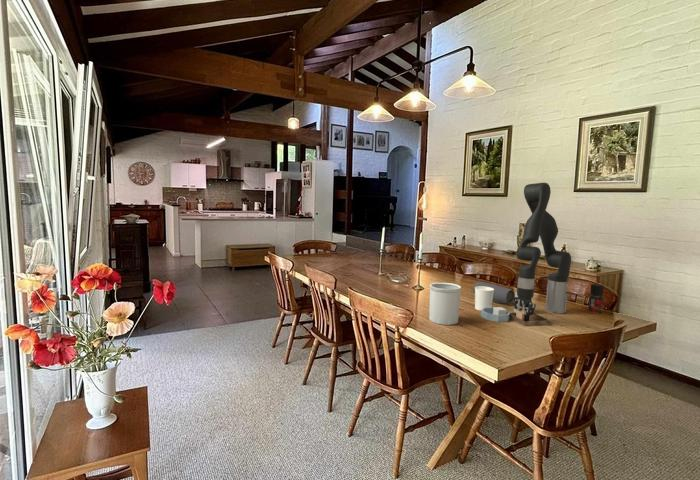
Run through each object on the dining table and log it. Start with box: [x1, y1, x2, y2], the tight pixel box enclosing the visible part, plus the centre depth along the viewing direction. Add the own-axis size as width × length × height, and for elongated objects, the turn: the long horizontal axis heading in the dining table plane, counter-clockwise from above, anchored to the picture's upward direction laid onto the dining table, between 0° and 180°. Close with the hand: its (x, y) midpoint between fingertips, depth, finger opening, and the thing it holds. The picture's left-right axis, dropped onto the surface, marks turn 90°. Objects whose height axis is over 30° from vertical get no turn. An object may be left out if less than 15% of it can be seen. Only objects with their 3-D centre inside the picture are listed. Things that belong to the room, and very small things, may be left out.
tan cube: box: [516, 310, 530, 321], centre depth 185 cm, size 4×4×4 cm
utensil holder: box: [428, 282, 462, 326], centre depth 183 cm, size 15×15×18 cm
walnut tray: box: [509, 311, 552, 327], centre depth 186 cm, size 14×14×3 cm
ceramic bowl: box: [480, 306, 511, 323], centre depth 190 cm, size 13×13×4 cm
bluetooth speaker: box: [472, 281, 516, 304], centre depth 223 cm, size 23×9×10 cm, turn 34°
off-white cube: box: [493, 306, 508, 315], centre depth 190 cm, size 4×4×4 cm
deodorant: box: [587, 283, 605, 314], centre depth 206 cm, size 6×6×15 cm
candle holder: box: [474, 286, 494, 312], centre depth 204 cm, size 10×10×12 cm
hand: (522, 320), depth 186 cm, fingers closed on tan cube, 4 cm apart
